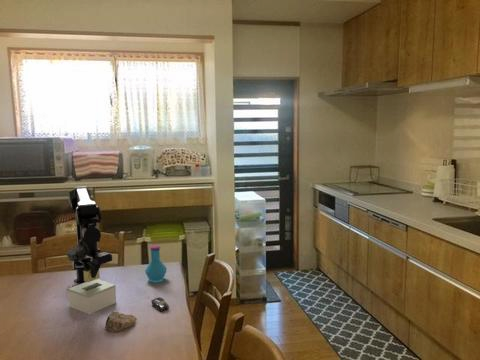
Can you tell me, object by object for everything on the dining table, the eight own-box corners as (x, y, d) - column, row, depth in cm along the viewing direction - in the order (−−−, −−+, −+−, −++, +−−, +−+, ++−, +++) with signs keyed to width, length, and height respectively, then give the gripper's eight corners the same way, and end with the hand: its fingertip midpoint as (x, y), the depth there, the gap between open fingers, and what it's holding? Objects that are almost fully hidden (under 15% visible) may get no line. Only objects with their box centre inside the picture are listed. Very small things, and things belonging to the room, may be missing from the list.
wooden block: (84, 281, 149) (83, 270, 148) (95, 276, 153) (94, 266, 152) (88, 282, 147) (87, 272, 147) (99, 278, 151) (99, 267, 151)
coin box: (69, 306, 149) (68, 288, 148) (96, 295, 159) (95, 278, 158) (89, 314, 143) (87, 295, 142) (116, 302, 153) (115, 284, 152)
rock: (105, 336, 128) (136, 326, 131) (101, 318, 129) (132, 308, 131) (108, 329, 137) (137, 320, 139) (104, 312, 137) (133, 304, 139)
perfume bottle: (169, 275, 179) (168, 243, 178) (163, 283, 170) (162, 249, 168) (149, 275, 180) (148, 243, 178) (142, 283, 171) (141, 249, 169)
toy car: (160, 313, 144) (160, 292, 143) (145, 302, 153) (144, 282, 152) (170, 309, 146) (169, 289, 145) (154, 299, 155) (154, 280, 154)
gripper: (54, 238, 146) (57, 278, 148) (85, 246, 136) (88, 289, 138) (81, 231, 155) (83, 270, 157) (112, 238, 145) (114, 279, 147)
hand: (91, 277), depth 150 cm, fingers closed on wooden block, 2 cm apart
